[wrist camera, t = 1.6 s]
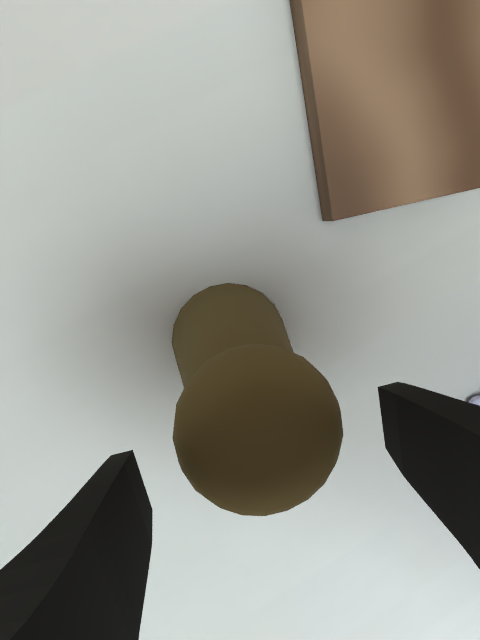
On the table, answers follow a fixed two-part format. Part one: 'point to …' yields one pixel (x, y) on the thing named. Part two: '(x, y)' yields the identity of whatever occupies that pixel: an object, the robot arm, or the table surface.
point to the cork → (250, 406)
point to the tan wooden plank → (390, 99)
